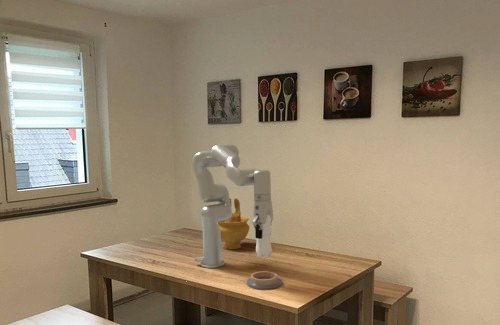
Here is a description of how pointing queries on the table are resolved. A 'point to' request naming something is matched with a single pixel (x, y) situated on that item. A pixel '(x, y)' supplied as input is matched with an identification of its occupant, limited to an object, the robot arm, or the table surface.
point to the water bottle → (264, 240)
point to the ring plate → (264, 280)
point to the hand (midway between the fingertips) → (263, 236)
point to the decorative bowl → (234, 228)
